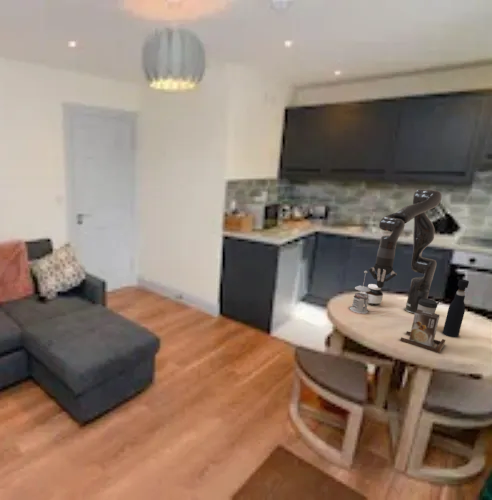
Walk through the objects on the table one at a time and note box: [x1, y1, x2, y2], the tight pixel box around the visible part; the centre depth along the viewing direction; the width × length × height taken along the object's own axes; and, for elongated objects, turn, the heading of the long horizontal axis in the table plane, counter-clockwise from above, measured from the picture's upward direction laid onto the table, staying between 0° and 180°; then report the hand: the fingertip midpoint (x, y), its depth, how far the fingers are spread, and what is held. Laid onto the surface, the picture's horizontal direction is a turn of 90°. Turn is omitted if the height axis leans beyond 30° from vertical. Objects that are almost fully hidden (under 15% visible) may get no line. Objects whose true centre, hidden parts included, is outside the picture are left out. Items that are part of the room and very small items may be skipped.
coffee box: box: [408, 309, 440, 347], centre depth 180 cm, size 9×6×16 cm
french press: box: [349, 270, 371, 315], centre depth 215 cm, size 10×12×25 cm
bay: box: [400, 330, 446, 354], centre depth 182 cm, size 11×16×3 cm
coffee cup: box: [417, 298, 438, 314], centre depth 198 cm, size 8×8×15 cm
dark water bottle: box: [442, 278, 470, 338], centre depth 187 cm, size 6×6×30 cm
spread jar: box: [359, 283, 384, 306], centre depth 229 cm, size 12×11×12 cm
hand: (379, 287), depth 192 cm, fingers closed
